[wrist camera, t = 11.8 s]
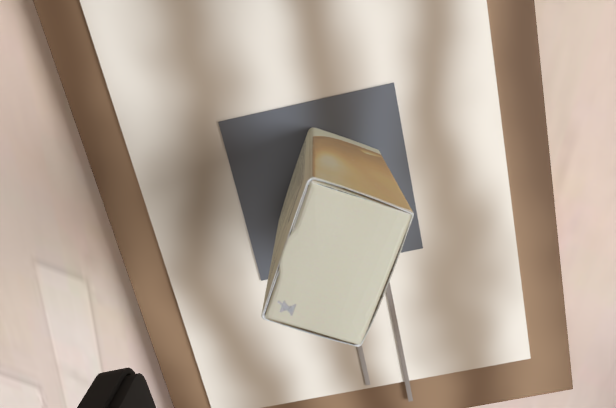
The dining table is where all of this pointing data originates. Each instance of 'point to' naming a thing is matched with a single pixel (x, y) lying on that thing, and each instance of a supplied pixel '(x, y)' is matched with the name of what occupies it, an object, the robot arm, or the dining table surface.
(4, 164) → the dining table surface
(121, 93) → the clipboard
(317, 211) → the skincare box
